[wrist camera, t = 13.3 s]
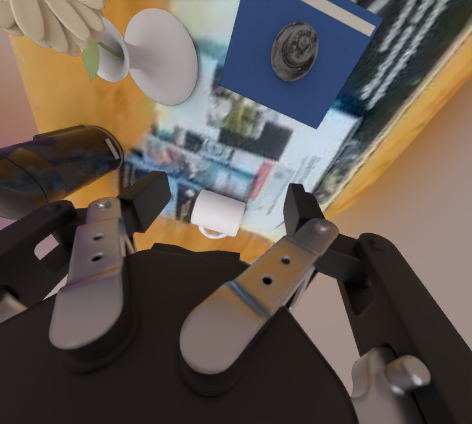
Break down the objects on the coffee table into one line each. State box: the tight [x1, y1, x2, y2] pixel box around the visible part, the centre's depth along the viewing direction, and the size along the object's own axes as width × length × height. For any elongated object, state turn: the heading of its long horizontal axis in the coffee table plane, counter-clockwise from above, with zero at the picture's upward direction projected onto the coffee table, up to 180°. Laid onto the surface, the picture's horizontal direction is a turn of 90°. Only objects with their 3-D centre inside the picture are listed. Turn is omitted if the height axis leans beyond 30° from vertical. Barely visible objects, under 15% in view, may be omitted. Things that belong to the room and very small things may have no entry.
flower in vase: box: [0, 0, 198, 106], centre depth 18 cm, size 13×11×25 cm
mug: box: [191, 189, 245, 239], centre depth 41 cm, size 12×10×8 cm
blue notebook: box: [219, 0, 383, 129], centre depth 26 cm, size 18×14×1 cm
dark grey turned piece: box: [271, 21, 318, 81], centre depth 21 cm, size 6×6×12 cm
